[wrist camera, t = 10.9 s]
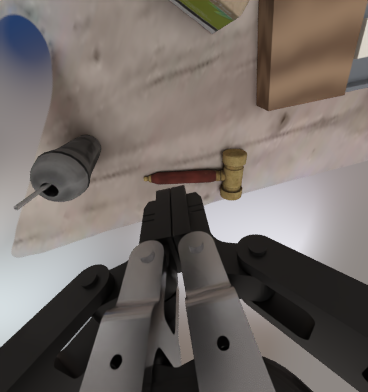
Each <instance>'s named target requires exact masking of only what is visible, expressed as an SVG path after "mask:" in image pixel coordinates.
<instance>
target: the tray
mask: <svg viewBox="0 0 368 392" xmlns="http://www.w3.org/2000/svg"><path fill="white" fill-rule="evenodd" d="M364 18H368V1H367V5H366V10H365V14H364ZM364 18H363V19H364ZM367 87H368V57H364V58H359V59H353V62H352V66H351V70H350V74H349V78H348V83H347V87H346V91H345V92H349V91H353V90H358V89H363V88H367Z"/></svg>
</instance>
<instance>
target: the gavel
mask: <svg viewBox="0 0 368 392" xmlns="http://www.w3.org/2000/svg"><path fill="white" fill-rule="evenodd" d="M246 158H247V153H246V152H245V151H244V150H241V149H227V150H225V151H224V152H223V160H222V162H223V163H224V164H225V165H224V168H223V170H220V171H213V170H200V171H178V172H158V173H155V174H153V175H149V177H144V181H149V182H150V183H151V182H152V183H155V184H181V183H203V182H213V181H220V180H221V181H223V182H222V183H223V184H222V185H221V189H220V195H221V197H222V198H224V199H227V200H237V199H239V198H240V197H241V194H242V187H241V183H242V175H243V168H244V167H243V165H245V164H246Z"/></svg>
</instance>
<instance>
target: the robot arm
mask: <svg viewBox="0 0 368 392" xmlns="http://www.w3.org/2000/svg"><path fill="white" fill-rule="evenodd" d="M180 272H182V273H183V280H184V286H185V292H186V298H185V304H186V311H187V317H188V324H189V330H190V336H191V342H192V348H193V355H194V359H193V360H191V361H189V362H187V363H186V364H184V365H182V366H181V352H180V346H179V338H178V324H179V318H178V317H179V287H178V277H177V273H180ZM239 299H242V300H243V301H244V302H245V303H246V304H247V305H248V306H250V307H251V308H252V309H253V310H255V311H256V312H257V313H259V314H260V315H261V316H262V317H264V318H265V319H267V320H268V321H269V322H270V323H271V324H273V325H274V326H276V327H277V328H278V329H279V330H281V331H282V332H283V333H284V334H286V335H287V336H288V337H290V338H291V339H292V340H293V341H295V342H296V343H297V344H299V345H300V346H301V347H302V348H304V349H305V350H306V351H308V352H309V353H310V354H311V355H313V356H314V357H315V358H317V359H318V360H319V361H321V362H322V363H323V364H324V365H326V366H327V367H328V368H330V369H331V370H332V371H333V372H335V373H336V374H337V375H338V376H340V377H341V378H342V379H344V380H345V381H346V382H347V383H349V384H350V385H351V386H353V387H354V388H355V389H356V390H358V391H359V392H368V285H366V284H364V283H362V282H360V281H358V280H356V279H354V278H352V277H349V276H347V275H345V274H343V273H341V272H339V271H337V270H335V269H333V268H331V267H329V266H326V265H324V264H322V263H320V262H318V261H316V260H314V259H312V258H310V257H308V256H306V255H304V254H302V253H299V252H297V251H295V250H293V249H291V248H289V247H287V246H285V245H282V244H281V243H279V242H276V241H274V240H272V239H270V238H268V237H266V236H262V235H249V236H246V237H244V238H242V239H241V240H240V241H239V242H238V243H226V242H222V241H219V240H217V239H216V238H215V237H213V235H212V234H211V232H210V229H209V225H208V222H207V218H206V214H205V210H204V206H203V203H202V199H201V196H199V195H198V194H197V193H196V192H194V193H189V194H186V191H185V186H184V185H182V186H177V187H172V188H171V189H170V188H168V189H163V190H158V191H156V201H151V202H148V204H147V205H146V207H145V208H144V213H143V220H142V227H141V234H140V241H139V245H138V246H136V247H135V248H134V249H133V251H132V252H131V254H130V257H129V260H128V261H127V262H125V263H123V264H121V265H119V266H117V267H115V268H113V269H111V270H108V268H107V267H106V266H104V265H93V266H91V267H88V268H87V269H85V270H84V271H82V272H81V273H80V274H79V275H78V276H77V277H76V278H75V279H73V280H72V281H71V282H70V283H69V284H68V285H67V286H66V287H65V288H64V289H63V290H62V291H61V292H59V293H58V294H57V295H56V296H55V297H54V298H53V299H52V300H51V301H50V302H49V303H48V304H47V305H46V306H44V307H43V308H42V309H41V310H40V311H39V312H38V313H37V314H36V315H35V316H34V317H33V318H32V319H31V320H29V321H28V322H27V323H26V324H25V325H24V326H23V327H22V328H21V329H20V330H19V331H18V332H17V333H16V334H14V335H13V336H12V337H11V338H10V339H9V340H8V341H7V342H6V343H5V344H4V345H3V346H2V347H0V392H313V391H312V390H311V389H310V388H309V387H307V386H306V385H305V384H304V383H303V382H302V381H301V380H300V379H299V378H298V377H296V376H295V375H294V374H293V373H291V372H290V371H289V370H287V369H286V368H285V367H283V366H281V365H280V364H278V363H276V362H275V361H272V360H270V359H268V358H266V357H263V356H261V353H260V351H259V348H258V346H257V343H256V341H255V338H254V336H253V333H252V331H251V328H250V325H249V323H248V320H247V318H246V315H245V313H244V310H243V308H242V305H241V303H240V300H239ZM90 317H92V318H91V319H90V321H89V322H88V323H87V324H86V325H85V326H84V328H83V329H82V330H81V331H80V332H79V333H78V334H77V335H76V337H75V338H74V339H73V340H72V341H71V342H70V344H69V345H68V346H67V347H66V348H65V349H63V347H64V346H65V345H66V344H67V343H68V342H69V341H70V340H71V338H72V337H73V336H74V335H75V334H76V333H77V332H78V330H79V329H80V328H81V327H82V326H83V325H84V324H85V322H86V321H87V320H88V319H89V318H90ZM62 349H63V350H62ZM61 350H62V351H61Z"/></svg>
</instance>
